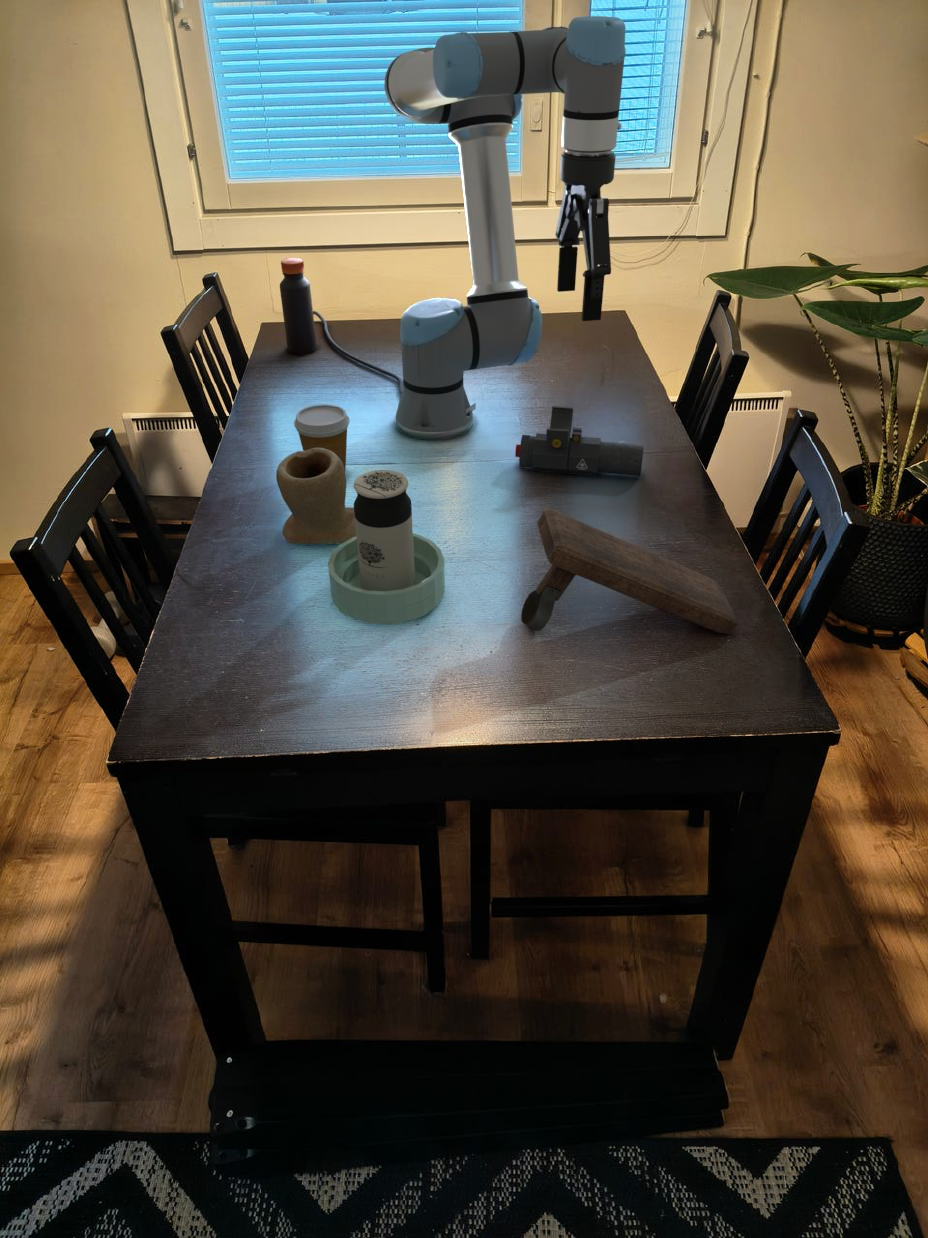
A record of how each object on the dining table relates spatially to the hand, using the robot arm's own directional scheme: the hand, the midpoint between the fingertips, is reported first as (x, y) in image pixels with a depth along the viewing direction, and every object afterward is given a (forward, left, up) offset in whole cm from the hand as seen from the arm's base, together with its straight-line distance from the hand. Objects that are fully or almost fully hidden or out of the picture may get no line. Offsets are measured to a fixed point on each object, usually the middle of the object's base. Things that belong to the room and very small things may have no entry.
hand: (578, 304), depth 139 cm
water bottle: (-87, -13, -33) cm, 94 cm away
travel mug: (+11, -40, -32) cm, 52 cm away
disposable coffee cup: (-27, -33, -33) cm, 54 cm away
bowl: (+11, -40, -33) cm, 53 cm away
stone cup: (-8, -41, -33) cm, 53 cm away
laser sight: (-5, +7, -33) cm, 34 cm away
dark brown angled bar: (+34, -14, -33) cm, 49 cm away
